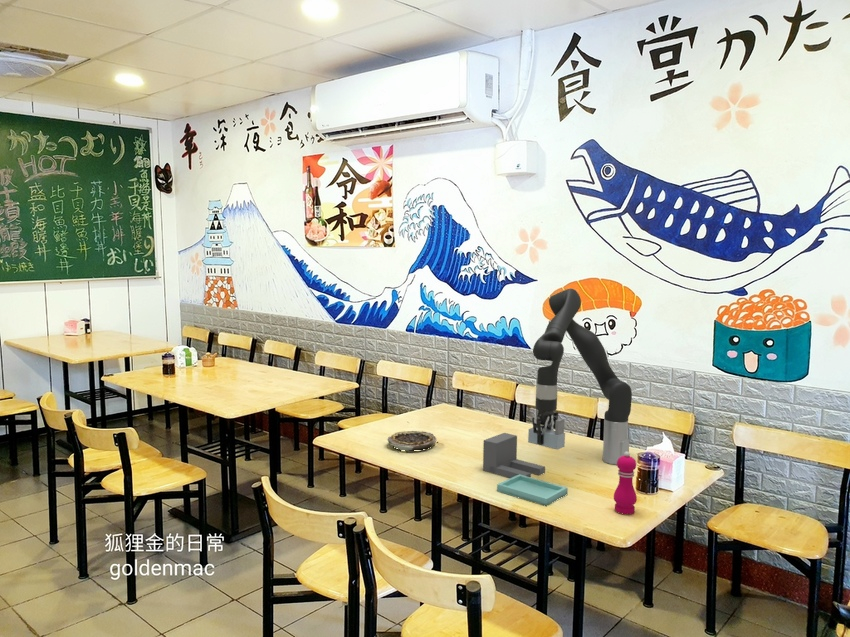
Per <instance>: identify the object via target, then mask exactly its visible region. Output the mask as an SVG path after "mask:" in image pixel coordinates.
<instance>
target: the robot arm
mask: <svg viewBox="0 0 850 637" xmlns="http://www.w3.org/2000/svg"><path fill="white" fill-rule="evenodd" d="M548 304H549V307H550V310H551V311H552V313H553V314H554V317H552V319H551V320H550V321H549V322H548V324H547V326H546V328H545V331H544V332H543V334H542V335H541V336H540V337H539V338H538V339H537V340H536V341H535V343H534V345H533V348H532V355H533V357H534V358H535V359H536V360H539V361H549V362H550V361H551V362H552V363H551V364H550V365H547V366H541V367H538V369H537V373H536V374H537V377H536V387H535V405H534V407H535V409H536V410H537V415H536V417H534V416H533V417H532V418H531V419H532V421H531V422H532V428H533V432H534V433H537V444H539V445H538V446H540V445H543V443H544V435H543V434H544V430H545V429H550V430H554V431H555V423H556V420H559V419H558V418H559V412H557V411H556V410H557V409H558V373H559V368H560V364H561V361H562V359H563V356H564V352H565V348H564V345H563V344H562V342H563V340H564V338H565V335H566V333H567V335H568V336H569V338H570V339H571V341H572V343H573V344H574V346H575V348H576V349H577V351H578V353H579V355H580V356H581V358H582V359H583V361H584V362H585V364H586V366H587V367H588V368H589V369H590V371H591V372H592V374H593V376H594V377H595V379H596V381H597V383H598V385H599V388H600V390H601V392H602V394H603V396H604V397H605V398H606V399H607V400H608V409H607V410H606V411H605V412H604V417H603V418H604V420H603V443H602V444H603V445H602V461H603V462H604V463H606V464H610V465H616V466H617V460H618V459H619V458H620V457H621V456H624V453H625V452H629V453H630V438H628V433H629V432H628V429H629V416H630V414H631V410H632V397H633V395H632V394H633V392H632V388H631V386H630V385H629V384H628V383H627V382H626V381H625V382H624V381H623V380H620V379H619V377H618V376H617V375H616V373H615V372H614V371H613V369H612V367H611V365H610V364H609V359H608V356H607V352H606V348H604V345H603V343H602V342H601V339H600V338H599V337H598V335H597V334H596V333H594V332H593V331H592V330H589V329H588V328H587V327H584V326H583V325H581V324H579V323H578V322H577V321H575V319H574V318H575V316H576V315H577V313H578V312H579V310H580V308H581V305H582V300H581V296H580V294H579V293H578V291H577V290H576V289H574V288H567V289H564V290H561V291H560V292H557V293H554V294H553V295H551V296H550V297H549V298H548ZM536 428H537V430H536ZM541 428H542V431H541Z"/></svg>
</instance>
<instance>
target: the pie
mask: <svg viewBox="0 0 850 637" xmlns="http://www.w3.org/2000/svg"><path fill="white" fill-rule="evenodd" d="M387 441H388V443H389V444H390V445H391V446H392V447H393V446H394V447H395V448H398V449H400V450H405V451H414V450H423V449H428V448H430V447H432V446H433V445H436V441H438V439H437V437H436V436H435V434H433V433H431V432H427V431H423V430H421V431H419V430H410V431H409V430H408V431H399V432H394V433H393V434H391V436H388V438H387ZM394 447H393V448H394ZM400 450H399V451H400Z"/></svg>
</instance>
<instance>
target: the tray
mask: <svg viewBox="0 0 850 637" xmlns="http://www.w3.org/2000/svg"><path fill="white" fill-rule="evenodd" d="M568 490H569V489H568V487H567V486H563V485H559V484H557V483H553V482H552V483H551V482H549V481H545V480H541V479H538V478H535V477H532V476H531V477H527V476H524V475H520V474H519V475H517V476H514V477H512V478H508V479H506V480H503V481H501V482H499V483H498V484H496V491H497V492H498V493H501V492H502V494H506V495H508V496H511V495H512V497H514V496H516V498H518V497H519V499H521V498H522V500H524V499H525V501H528V502H531V501H532V502H531V503H534V502H536V503H535V504H537V503H539V504H538V505H541V504H542V505H541V506H544V505H545V507H548V506H550V505H551V504H553V503H555V502H556V500H557V499H559V498H560V499H562V498H564V497H566V496H567V495H568ZM566 494H567V495H566ZM565 495H566V496H565ZM563 496H564V497H563ZM561 497H562V498H561ZM560 499H559V500H560ZM554 501H555V502H554ZM557 501H558V500H557ZM552 502H553V503H552ZM550 503H551V504H550ZM549 504H550V505H549ZM547 505H548V506H547Z"/></svg>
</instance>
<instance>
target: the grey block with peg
mask: <svg viewBox="0 0 850 637" xmlns="http://www.w3.org/2000/svg"><path fill="white" fill-rule="evenodd" d="M536 430H537V428H536ZM541 431H542V428H541ZM543 435H544V443H543V445H539V444H537V433H534V432H533V427H530V428H528V435H527V436H528V439H527V442H528V443H529V444H532V445H536V446H537V445H538V446H541V447H545V448H548V449H553V450H557V451H558V450H560V449H562V448H565V446H566V445H565V443H566V441H565V440H566V433H565V419H564V418H560V419H558V420H556V423H555V429H554V430H550V429H545V430H544V434H543Z"/></svg>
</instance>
